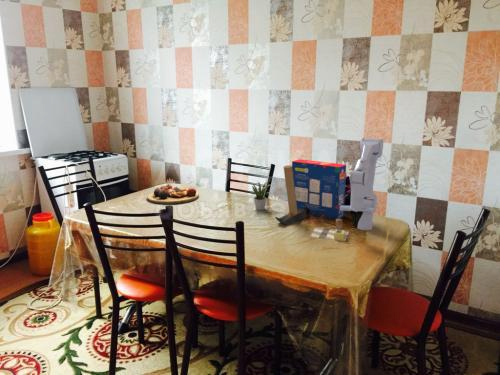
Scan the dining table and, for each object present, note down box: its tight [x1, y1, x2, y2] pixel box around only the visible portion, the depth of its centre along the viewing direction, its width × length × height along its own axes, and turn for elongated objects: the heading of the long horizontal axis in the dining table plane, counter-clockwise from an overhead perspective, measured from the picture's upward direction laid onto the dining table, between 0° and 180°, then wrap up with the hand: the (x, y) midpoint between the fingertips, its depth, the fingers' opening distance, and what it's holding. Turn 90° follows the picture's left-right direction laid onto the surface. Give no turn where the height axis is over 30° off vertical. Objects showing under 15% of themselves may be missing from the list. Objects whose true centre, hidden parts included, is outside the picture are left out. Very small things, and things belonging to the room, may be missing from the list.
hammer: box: [274, 164, 311, 226], centre depth 218 cm, size 20×5×30 cm, turn 129°
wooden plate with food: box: [146, 183, 200, 205], centre depth 268 cm, size 32×32×8 cm
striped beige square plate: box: [309, 227, 350, 242], centre depth 201 cm, size 14×16×1 cm
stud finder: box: [334, 229, 346, 241], centre depth 195 cm, size 5×4×3 cm
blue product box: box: [291, 158, 347, 220], centre depth 232 cm, size 28×8×28 cm, turn 53°
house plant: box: [250, 180, 273, 211], centre depth 243 cm, size 14×14×16 cm
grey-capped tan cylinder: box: [335, 218, 343, 231], centre depth 203 cm, size 3×3×6 cm
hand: (355, 227), depth 192 cm, fingers closed
